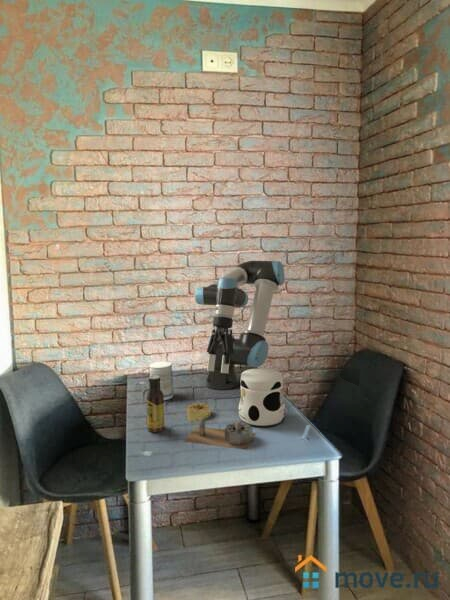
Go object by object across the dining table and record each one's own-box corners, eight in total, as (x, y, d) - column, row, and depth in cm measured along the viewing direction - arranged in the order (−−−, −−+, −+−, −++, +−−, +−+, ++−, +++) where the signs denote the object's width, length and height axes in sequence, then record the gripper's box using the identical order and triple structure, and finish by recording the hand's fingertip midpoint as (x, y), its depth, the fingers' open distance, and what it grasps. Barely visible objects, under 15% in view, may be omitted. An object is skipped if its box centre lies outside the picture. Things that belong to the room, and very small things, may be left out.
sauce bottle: (145, 427, 166) (143, 375, 163) (162, 424, 168) (160, 372, 165) (150, 434, 160) (147, 380, 157) (167, 431, 163) (164, 377, 160)
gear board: (196, 429, 164) (196, 410, 163) (256, 436, 157) (255, 416, 156) (183, 444, 152) (182, 424, 151) (247, 452, 146) (246, 431, 145)
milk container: (231, 416, 174) (230, 370, 172) (272, 409, 181) (271, 365, 178) (250, 434, 158) (249, 384, 156) (294, 426, 165) (294, 378, 162)
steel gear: (230, 432, 158) (230, 421, 157) (254, 435, 155) (254, 424, 155) (222, 443, 150) (222, 432, 149) (247, 446, 147) (247, 435, 147)
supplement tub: (177, 398, 195) (176, 364, 193) (157, 403, 190) (155, 369, 187) (167, 391, 203) (165, 359, 201) (147, 396, 198) (145, 363, 195)
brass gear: (192, 411, 179) (192, 402, 179) (213, 414, 177) (213, 404, 176) (184, 420, 171) (183, 410, 171) (205, 423, 169) (205, 412, 168)
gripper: (202, 317, 187) (196, 369, 184) (228, 313, 165) (221, 373, 162) (219, 319, 190) (213, 371, 187) (246, 317, 168) (240, 375, 165)
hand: (217, 372), depth 174 cm, fingers open, 13 cm apart
